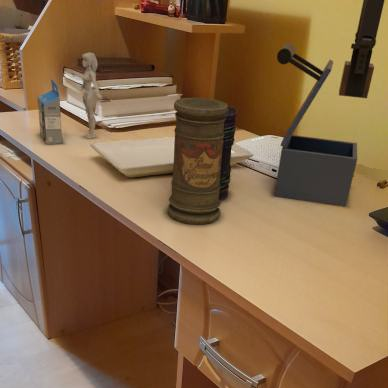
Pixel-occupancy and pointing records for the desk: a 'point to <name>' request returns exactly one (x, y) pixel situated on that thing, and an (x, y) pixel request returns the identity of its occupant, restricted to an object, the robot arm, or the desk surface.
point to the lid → (287, 56)
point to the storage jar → (227, 152)
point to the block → (346, 75)
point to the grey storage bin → (316, 170)
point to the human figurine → (90, 90)
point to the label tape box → (50, 116)
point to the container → (197, 160)
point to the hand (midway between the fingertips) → (353, 92)
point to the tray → (150, 155)
